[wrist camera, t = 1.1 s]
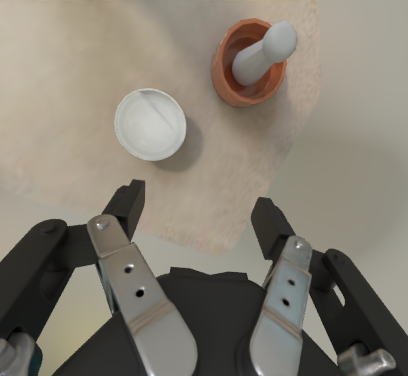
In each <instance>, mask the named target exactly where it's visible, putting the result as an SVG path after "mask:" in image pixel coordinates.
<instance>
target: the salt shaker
mask: <svg viewBox="0 0 408 376" xmlns="http://www.w3.org/2000/svg"><path fill="white" fill-rule="evenodd" d="M296 45H297V32H296V30H295V28H294V26H293V25H292V24H291V23H289V22H288V21H280V22H278V23H276V24H274V25H273V26H271V27H270V28H269V29H268V31H267V33H266V34H265V36H264V38H263V39H262V40H261V41H259V42H257V43H255V44H253V45H251V46H249V47H248V48H245V49H244V50H242V51H240V52H238V54H237V55H236V57H235V59H234V60H233V65H232V74H233V76H234V79H235V81H236V82H237V83H239V84H241V85H243V86H252V85H253V84H255V83H257V82H258V81H259V80H260V78H261V77H262V76H263V75H264V74H265V73H266V72H267V70H268V69H269V68H270V67H271V66H272V65H273V63H281V62H283V61H284V60H286V59H287V58H289V57H290V56H291V55H292V53H293V52H294V50H295V49H296Z"/></svg>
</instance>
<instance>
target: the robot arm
mask: <svg viewBox="0 0 408 376" xmlns="http://www.w3.org/2000/svg"><path fill="white" fill-rule="evenodd" d="M144 203H145V181H143V180H136V179H133V180H132V182H131V183H130V185H129V186H122V187H120V188H119V189H117V191H116V192H115V194H114V196H113V197H112V199H111V200H110V202H109V203H108V205H107V206H106V208H105V209H104V211H103V212H102V214H101V215H98V216H95V217H93V218H92V219H91V220H89V222H88V223H87V224H83V225H75V226H67V223H66V222H65V221H63V220H60V219H50V220H46V221H43V222H40V223H38V224H37V225H35V226H34V227H32V228H31V230H30V231H29V232H28V233H27V234H26V235H25V236H24V237H23V238H22V239H21V240H20V241H19V242H18V243H17V245H16V246H15V247H14V248H13V249H12V250H11V251H10V252H9V253H8V254H7V255H6V256H5V257H4V259H3V260H2V261H1V262H0V376H38V373H39V370H40V367H41V364H42V360H43V354H42V351H41V349H40V347H39V346H38V345H37V344H36V341H37V339H38V337H39V336H40V334H41V332H42V330H43V328H44V326H45V324H46V322H47V320H48V319H49V316H50V315H51V313H52V311H53V309H54V307H55V305H56V303H57V301H58V300H59V298H60V296H61V294H62V292H63V290H64V288H65V286H66V285H67V283H68V281H69V279H70V277H71V275H72V273H73V271H74V269H75V268H76V267H82V266H87V265H92V264H95V267H96V269H97V272H98V275H99V277H100V280H101V283H102V286H103V289H104V291H105V295H106V298H107V302H108V305H109V308H110V311H111V314H112V317H111V318H110V319H109V320H108V321H107V322H106V323H105V324H104V325H103V326H102V327H101V328H100V329H99V330H98V331H97V332H96V333H95V334H94V335H93V336H91V338H90V339H88V340H87V341H86V343H84V344H83V345H82V346H81V347H80V348H79V349H78V350H77V351H76V352H75V353H74V354H73V355H72V356H71V357H70V358H69V359H68V360H67V361H66V362H64V363H63V364H62V365H61V366H60V367H59V368H58V369H57V370H56V371H55V372H54V374H53V375H52V376H408V336H407V334H406V333H405V331H404V330H403V329H402V327H401V326H400V325H399V323H398V322H397V321H396V319H395V318H394V317H393V316H392V314H391V313H390V311H389V310H388V309H387V308H386V306H385V305H384V303H383V302H382V301H381V299H380V298H379V297H378V295H377V294H376V293H375V291H374V290H373V289H372V287H371V286H370V285H369V283H368V282H367V281H366V279H365V278H364V277H363V275H362V274H361V273H360V271H359V270H358V269H357V267H356V266H355V265H354V263H353V262H352V261H351V259H350V258H349V257H348V256H346V255H345V254H344V253H342V252H340V251H339V250H336V249H328V250H327V251H326V252H325V253H322V252H319V251H316V250H314V249H312V247H311V245H310V244H309V243H308V242H307V241H306V240H305V239H303V238H301V237H299V236H296V234H295V233H294V231H293V229H292V227H291V226H290V224H289V223H288V222H287V219H286V218H285V216H284V214H283V212H282V211H281V210H280V209H279V208H278V207H277V206H275V205H274V204H273V202H272V200H271V199H270V198H264V197H259V198H258V199H257V202H256V204H255V206H254V209H253V211H252V214H251V222H252V225H253V227H254V231H255V233H256V236H257V239H258V242H259V244H260V247H261V250H262V253H263V256H264V258H265V260H272V261H273V264H272V265H271V267H270V269H269V272H268V274H267V276H266V279H265V280H264V283H263V285H262V287H261V286H259V285H258V284H256V283H254V282H253V281H250V280H248V277H247V273H239V272H224V273H218V274H213V275H209V274H205V273H202V272H199V271H196V270H193V269H190V268H178V267H171V269H170V273H168V274H164V275H161V276H158V277H156V278H155V276H154V275H153V273H152V271H151V269H150V268H149V266H148V264H147V262H146V261H145V259H144V257H143V256H142V254H141V252H140V250H139V249H138V247H137V245H136V244H135V243H134V242H132V243H130V242H131V239H132V237H133V234H134V232H135V229H136V226H137V224H138V221H139V218H140V216H141V213H142V211H143V208H144ZM336 285H337V286H338V287H339V289H340V291H341V292H342V294H343V296H344V299H345V305H344V307H343V305H342V304H341V302H340V300H339V298H338V296H337V295H336V293H335V291H334V289H333V288H334V287H335V286H336ZM308 293H309V294H310V296H311V298H312V301H313V303H314V305H315V307H316V310H317V312H318V314H319V316H320V319H321V321H322V323H323V325H324V328H325V330H326V332H327V334H328V336H329V339H330V341H331V343H332V345H333V348H334V350H335V352H336V354H337V365H338V366H337V365H336V364H335V363H334V362H333V361H332V360H331V359H330V358H329V357H328V356H327V355H326V354H325V353H324V351H323V350H322V349H321V348H320V347H319V346H318V345H317V344H316V343H315V342H314V341H313V340H312V339H311V338H310V337H309V336H308V335H307V333H306V332H305V331H304V330H303V329H302V325H303V320H304V315H305V309H306V304H307V299H308Z"/></svg>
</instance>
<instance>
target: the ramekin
mask: <svg viewBox="0 0 408 376" xmlns="http://www.w3.org/2000/svg"><path fill="white" fill-rule="evenodd" d="M114 127H115V132H116V135H117V138H118V140H119V142H120V143H121V145H122V146H123V147H124V148H125V149H126V150H127V151H128V152H129V153H130V154H132V155H133V156H135V157H137V158H140V159H142V160H147V161H159V160H163V159H166V158H168V157H170V156H172V155H173V154H174V153H175V152H177V150H178V149H179V148H180V147H181V146H182V144H183V142H184V139H185V136H186V130H187V124H186V118H185V115H184V112H183V110H182V108H181V107H180V105H179V104H178V103H177V101H176V100H175V99H174V98H172V97H171V96H170V95H169V94H167V93H165V92H163V91H160V90H157V89H152V88H143V89H139V90H136V91H133V92H131V93H130V94H128V95H127V96H126V97H125V98H124V99H123V100H122V101H121V102H120V104H119V105H118V107H117V110H116V113H115V118H114Z"/></svg>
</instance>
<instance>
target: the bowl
mask: <svg viewBox="0 0 408 376" xmlns="http://www.w3.org/2000/svg"><path fill="white" fill-rule="evenodd" d="M270 27H271V25H270V24H269V23H267V22H264V21H262V20H259V19H256V18H254V19H247V20H241V21H240V22H238V23H237V24H236V25H234V26H233V27H232V28H230V29H229V30H228V32H227V33H226V35H225V37H224V38H223V40H222V41H221V43H220V44H219V46H218V48H217V50H216V52H215V53H214V55H213V60H212V66H211V75H212V80H213V85H214V87H215V89H216V91H217V92H218V94H219V96H220V97H221V98H222V99H223V100H225V101H226V102H227V103H228V104H230V105H233V106H237V107H247V106H251V105H254V104H257V103H260V102H263V101H265V100H267V99H268V98H269V97H271V96H272V95H273V94H275V93H276V91H277V89H278V88H279V86H280V84H281V83H282V81H283V78H284V74H285V70H286V65H287V64H286V60H284V61H283V62H281V63H273V65H272V66H271V67H270V68H269V69H268V70H267V72H266V73H265V74H264V75H263V76H262V77H261V78H260V80H259V81H258V82H257V83H255V84H253V85H252V86H243V85H241V84H239V83H237V82H236V81H235V79H234V76H233V74H232V65H233V60H234V59H235V57H236V55H237V54H238V52H240V51H242V50H244V49H245V48H248V47H249V46H251V45H253V44H255V43H257V42H259V41H261V40H262V39H263V38H264V36H265V34H266V33H267V31H268V29H269V28H270Z"/></svg>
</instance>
